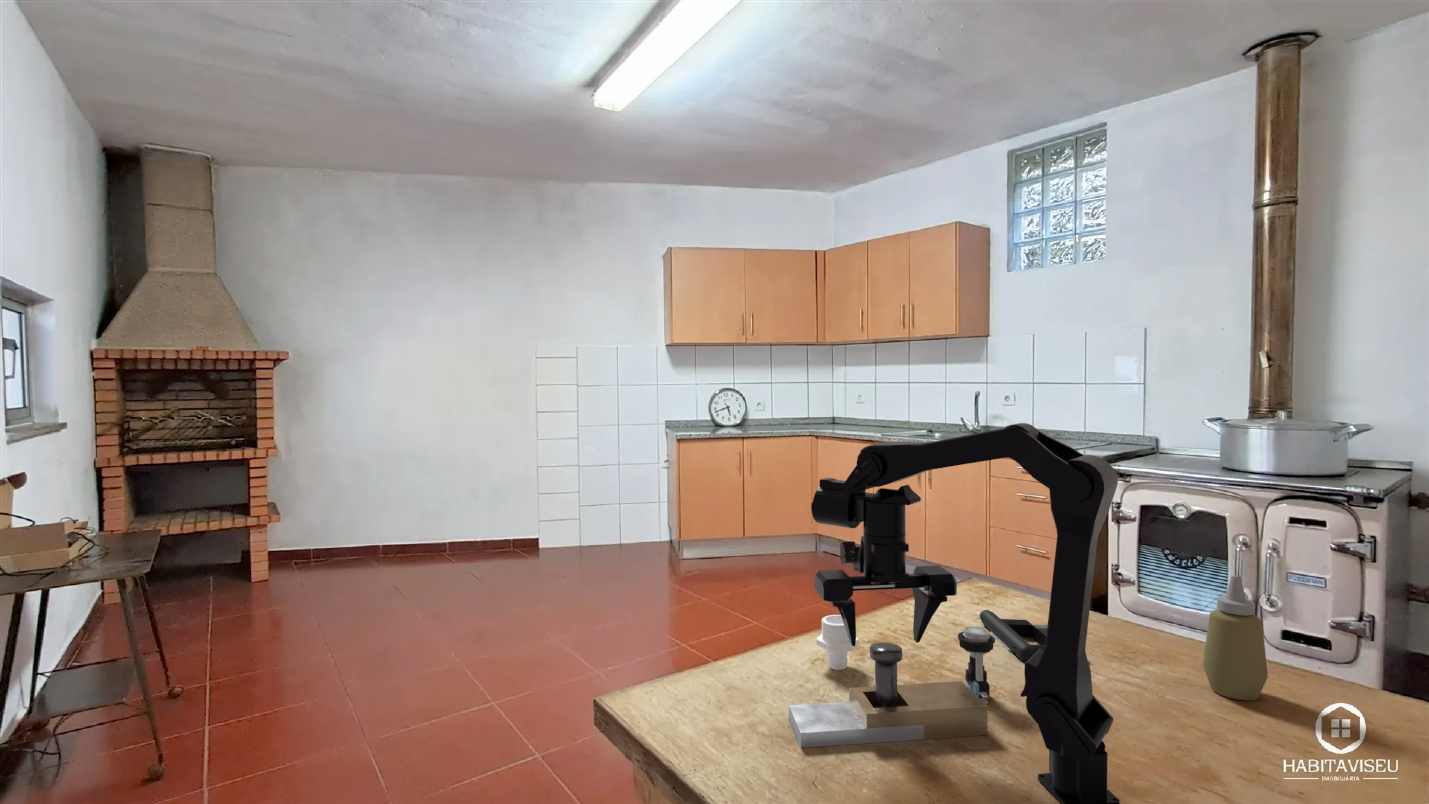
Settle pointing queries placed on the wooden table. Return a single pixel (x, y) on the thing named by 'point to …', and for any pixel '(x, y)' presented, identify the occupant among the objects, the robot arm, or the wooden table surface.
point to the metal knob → (885, 673)
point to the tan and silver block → (892, 716)
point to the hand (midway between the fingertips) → (884, 643)
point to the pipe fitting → (835, 641)
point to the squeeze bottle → (1235, 646)
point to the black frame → (1015, 634)
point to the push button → (976, 659)
